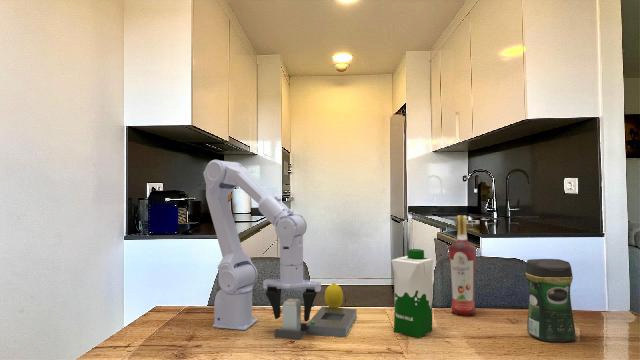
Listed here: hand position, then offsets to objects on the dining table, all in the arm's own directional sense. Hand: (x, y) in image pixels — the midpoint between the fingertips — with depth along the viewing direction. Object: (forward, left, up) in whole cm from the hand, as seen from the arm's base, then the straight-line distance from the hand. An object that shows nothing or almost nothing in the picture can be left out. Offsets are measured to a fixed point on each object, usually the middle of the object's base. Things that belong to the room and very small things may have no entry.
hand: (292, 318), depth 95 cm
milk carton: (+29, +9, -4) cm, 31 cm away
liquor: (+43, +27, -4) cm, 51 cm away
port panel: (+8, +9, -4) cm, 13 cm away
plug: (0, 0, -4) cm, 4 cm away
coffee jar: (+61, +13, -4) cm, 62 cm away
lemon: (+6, +21, -4) cm, 22 cm away
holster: (0, 0, -4) cm, 4 cm away
